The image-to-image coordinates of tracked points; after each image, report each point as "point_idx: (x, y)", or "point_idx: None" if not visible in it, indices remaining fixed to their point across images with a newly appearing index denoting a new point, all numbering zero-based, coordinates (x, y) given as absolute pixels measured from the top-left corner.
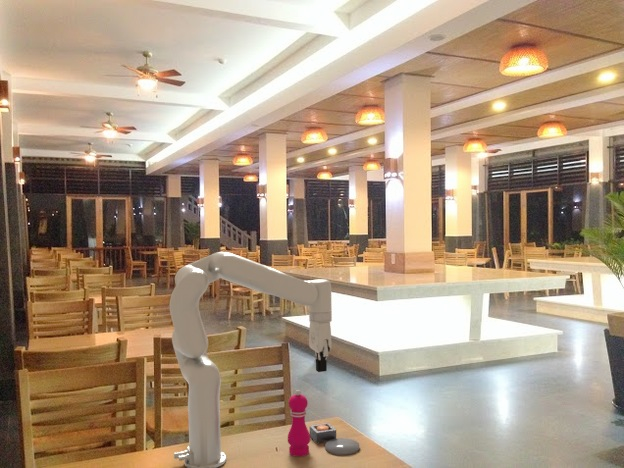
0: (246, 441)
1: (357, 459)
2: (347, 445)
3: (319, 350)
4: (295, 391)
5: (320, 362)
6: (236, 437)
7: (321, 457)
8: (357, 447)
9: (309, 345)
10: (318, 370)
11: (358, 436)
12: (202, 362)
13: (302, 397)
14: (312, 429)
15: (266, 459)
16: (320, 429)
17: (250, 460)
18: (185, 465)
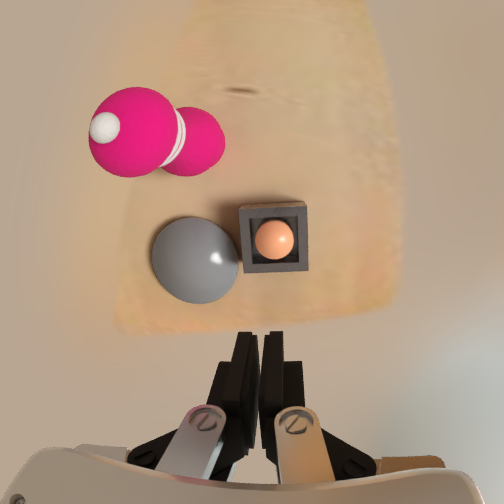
0: (318, 30)
1: (130, 270)
2: (186, 273)
3: (28, 460)
4: (102, 113)
5: (209, 400)
6: (352, 17)
7: (155, 194)
8: (169, 291)
9: (443, 489)
10: (238, 341)
11: (254, 321)
12: None
13: (95, 150)
14: (276, 206)
15: (184, 61)
16: (260, 229)
17: (192, 28)
18: None
